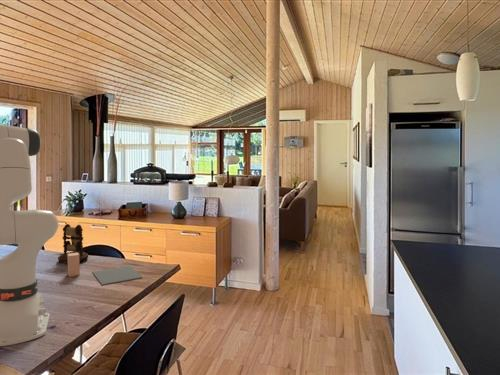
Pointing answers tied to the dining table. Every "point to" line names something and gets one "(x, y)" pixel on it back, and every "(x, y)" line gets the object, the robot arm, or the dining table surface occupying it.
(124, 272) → the flat slab
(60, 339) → the dining table surface
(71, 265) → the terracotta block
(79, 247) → the dark brown ornate stand
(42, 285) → the dining table surface
